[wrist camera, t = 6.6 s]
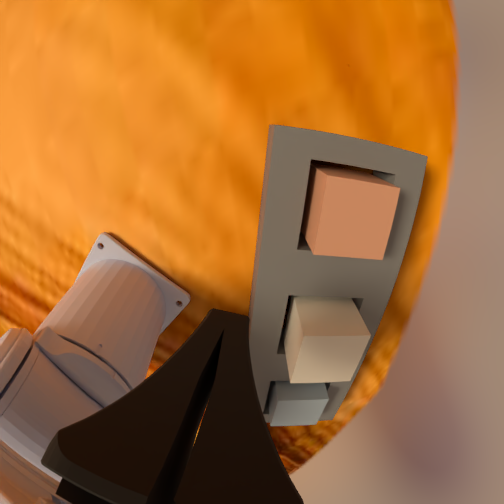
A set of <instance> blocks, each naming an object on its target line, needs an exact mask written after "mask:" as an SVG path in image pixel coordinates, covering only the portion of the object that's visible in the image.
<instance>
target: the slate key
mask: <svg viewBox="0 0 504 504" xmlns="http://www.w3.org/2000/svg"><path fill="white" fill-rule="evenodd" d="M328 400H329V397H328V394H327V390H326V386H325V382H323V383H290V381H271V382H270V386H269V390H268V402H269V415H270V426H297V425H315V424H316V423H317V422H318V420H319V418H320V416H321V414H322V412H323V410H324V408H325V406H326V404H327V402H328Z"/></svg>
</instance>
